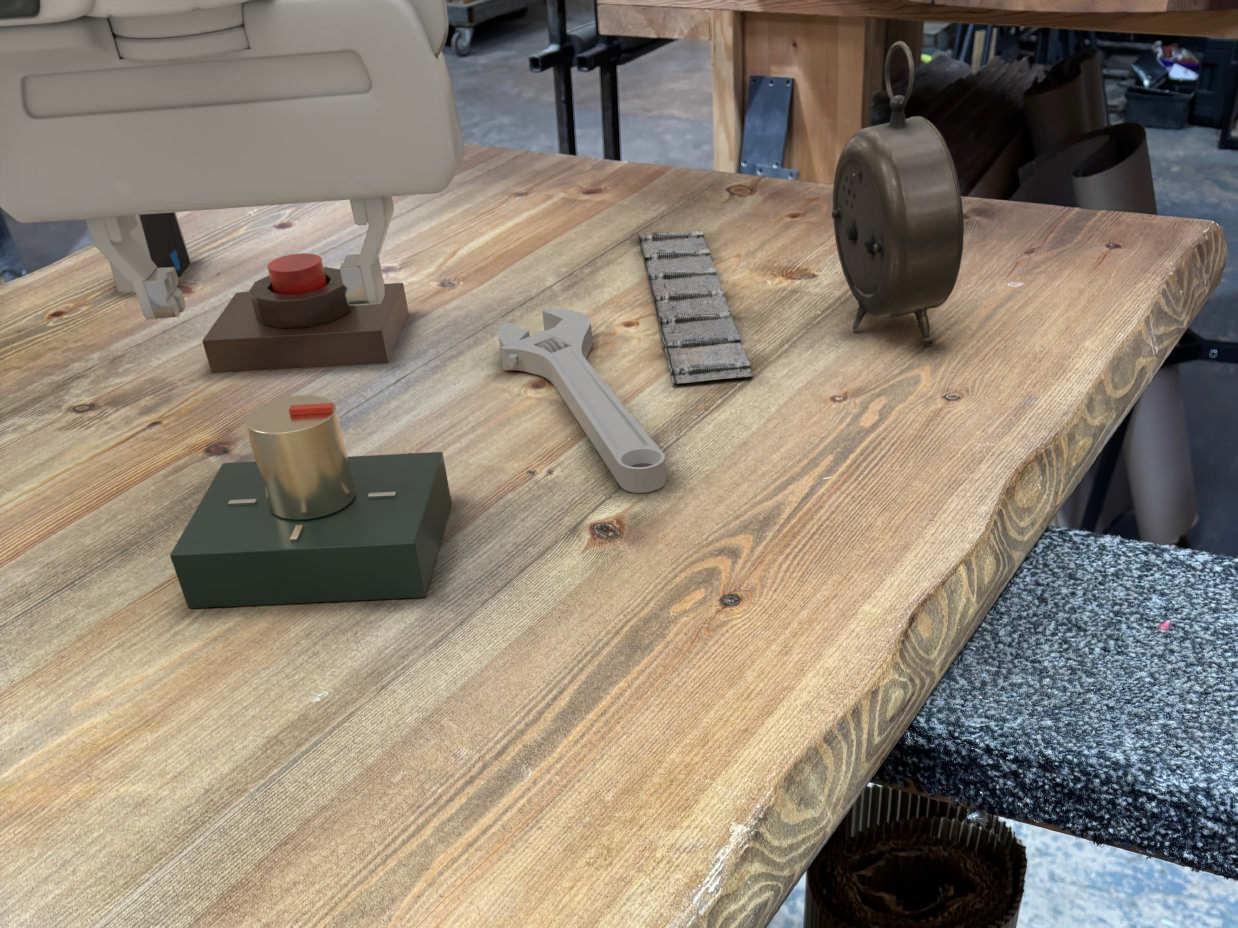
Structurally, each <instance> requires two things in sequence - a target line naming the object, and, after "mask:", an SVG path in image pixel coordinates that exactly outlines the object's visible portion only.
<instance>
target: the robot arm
mask: <svg viewBox="0 0 1238 928" xmlns="http://www.w3.org/2000/svg"><path fill="white" fill-rule="evenodd" d="M447 6H448V5H447V0H0V208H1V209H2V210H3V211H4V212H6V213H7V215H8V216H10V217H11V218H12V219H14V220H15V221H17V222H18V223H22V224H32V223H42V222H57V221H71V220H85V223H86V226H87V230H88V231H89V234H90V239H91V241H92V243H93V246H94V247H95V248H96V249H97V250H98V251H99V252H100V253H101V254H102V255H103V256H104V257H105V258H106V259H107V260H108V262H109V261H110V262H111V263H112V264H113V265H114V266H115V267H116V268H117V270H118V271H119V272H120V273H121V274H122V275H123V276H124V277H125V278H126V279H127V280H128V281H129V282H132V283H133V286H134V289H135V292H134V293H135V295H136V298H137V301H138V304H139V306H140V309H141V314H142V316H143V317H144V318H145V319H146V320H159V319H171V318H172V319H173V318H179V317H180V316H181V313H183V312H184V310H185V309H186V301H185V296H184V293H183V291H182V290H181V289H180V288H179V284H180V279H179V278H178V276H177V273H176V270H175V267H167V268H157V266H156V265H155V264H154V262H153V261H152V260H151V259H150V258H149V256H148V255H147V254H146V253H145V251H144V250H143V249H142V248H141V247H140V245H139V244H138V243H137V242H136V241H135V239H134V238H133V237H132V236H131V235H130V233H131V232H132V231H133V230H134V229H135V228H136V226H137V225H138V224H137V221H136V218H135V215H143V214H157V213H171V212H176V213H181V212H182V213H183V212H184V213H185V212H198V211H211V210H224V209H238V208H251V207H266V206H267V207H268V206H281V205H295V204H307V203H308V204H309V203H321V202H335V201H337V202H338V201H349V203H350V207H351V212H352V216H353V221H354V224H355V225H357V226H360V227H361V226H366V225H367V224H368V227H367V230H366V235H365V238H364V239H363V244H362V246H361V250H360V253H356V254H346V255H345V257H344V259H343V262H342V263H341V264H340V266H339V268H338V269H340V274H341V278H342V283H343V284H344V285H345V287H346V288H347V290H346V293H345V296H346V300H347V303H348V305H349V306H355V305H372V304H381V302H382V300H383V298H384V295H385V287H384V284H385V282H384V277H383V272H382V267H381V262H380V257H379V255H380V254H381V252H382V249H383V246H384V242H385V239H386V236H387V233H388V231H389V227H390V223H391V221H392V218H393V215H394V212H395V206H394V200H393V197H404V196H405V197H407V196H420V195H432V194H433V195H434V194H440V193H442V192H444V191H446V190H447V189H448V187H449V186H450V184H451V183H452V181H454V179H455V178H456V176H457V175H458V172H459V171H460V169H461V167H462V164H463V161H464V157H465V142H464V134H463V128H462V124H461V119H460V115H459V114H460V113H459V109H458V106H457V101H456V97H455V94H454V89H453V85H452V80H451V77H450V74H449V71H448V67H447V64H446V60H445V57H444V53H443V50H444V48H445V46H446V44H447V39H448V36H449V29H450V20H449V19H450V17H449V13H448V7H447ZM110 262H109V263H110Z"/></svg>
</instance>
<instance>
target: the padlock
mask: <svg viewBox="0 0 1238 928" xmlns="http://www.w3.org/2000/svg"><path fill="white" fill-rule="evenodd" d="M135 218H136V221H137V224H138V225H137V226H136V228H135V229H134V230H133V231H132V232H131V233H130V235H131V236H132V237H133V238H134V239H135V241H136V242H137V243H138V244H139V245H140V247H141V248H142V249H143V250H144V251H145V253H146V254H147V255H148V256H149V258H150V259H151V260H152V261H153V262H154V264H155V265H156V266H157V268H167V267H175V270H176V273H177V276H178V279H179V278H180V277H181V276H182V275H183V274H184V273H185V271H186V270H187V268H188V267H189V266H190V264H191V263H192V259H191V256H190V252H189V249H188V246H187V243H186V240H185V236H184V234H183V231H182V228H181V225H180V222H179V219H178V215H177V212H171V213H157V214H143V215H135ZM108 262H109V265H110V269H111V273H112V276H113V281H114V284H115V286H116V290H117V293H136V292H135V289H134V286H133V283H132V282H129V281H128V280H127V279H126V278H125V277H124V276H123V275H122V274H121V273H120V272H119V271H118V270H117V268H116V267H115V266H114V265H113V264H112V263H111V262H110V261H109V260H108Z"/></svg>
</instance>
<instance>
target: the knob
mask: <svg viewBox="0 0 1238 928" xmlns="http://www.w3.org/2000/svg"><path fill="white" fill-rule="evenodd" d="M244 425H245V428H246V433H247V436H248V441H249V443H250V446H251V451H252V454H253V457H254V460H255V461H254V462H256V464H257V468H258V471H259V475H260V478H261V482H262V485H263V489H264V492H265V496H266V500H267V503H268V507H269V509H270V511H271V512H272V513H273V514H275V515H276V516H279V517H282V518H286V519H292V520H305V519H314V518H319V517H323V516H327V515H330V514H333V513H335V512H337V511H339V510H341V509H343V508H345V507H346V506H347V505H349V504H350V503H351V502H352V500H353V499H354V497H355V487H354V483H353V479H352V474H351V470H350V466H349V462H348V457H349V456H348V454H347V453H348V452H347V449H346V446H345V445H346V444H345V441H344V440H345V439H344V436H343V432H342V428H341V427H342V426H341V424H340V420H339V415H338V410H337V407H336V404H335V403H334V402H333V401H332V400H331V399H329V398H327V397H324V396H319V395H312V394H301V395H290V396H284V397H279V398H275V399H272V400H269V401H266V402H263V403H262V404H259V405H258V406H255V407H254V408H253V409H251V410H250V411H249V412H248V413H247V414H246V415H245V417H244Z"/></svg>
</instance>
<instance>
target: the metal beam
mask: <svg viewBox="0 0 1238 928" xmlns="http://www.w3.org/2000/svg"><path fill="white" fill-rule="evenodd" d="M704 235H705V234H704V231H702V229H696V230H685V231H673V232H662V231H661V232H651V233H645V234H639V233H637V236H638V240H639V245H640V249H641V253H642V256H643V260H644V266H645V269H646V270H645V271H646V274H647V277H648V282H649V286H650V290H651V295H652V298H653V304H654V308H655V312H656V317H657V319H658V326H659V330H660V334H661V339H662V343H663V344H664V350H665V355H666V358H667V361H668V362H667V365H668V369H669V371H670V377H671V382H672V384H673V385H674V384H688V383H696V382H705V381H713V380H714V381H716V380H723V379H724V380H725V379H738V378H748V377H753V376H754V375H753V371H752V370H751V363H750V361H749V359H748V358H747V355H746V352H745V350H744V347H743V343H742V338H741V335H740V334H739V332H738V329H737V326H736V324H735V321H734V317H733V314H732V311H731V310H730V309H731V308H730V307H729V304H728V301H727V299H726V296H725V295H726V293H725V290H724V289H723V287H722V285H721V282H720V279H719V276H718V271H717V268H716V267H715V265H714V262H713V260H712V257H711V251H710V249H709V248H708V244H707V242H706V240H705V236H704Z"/></svg>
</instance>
